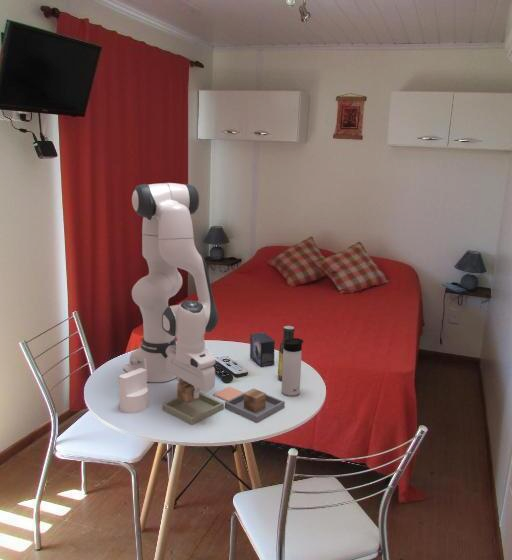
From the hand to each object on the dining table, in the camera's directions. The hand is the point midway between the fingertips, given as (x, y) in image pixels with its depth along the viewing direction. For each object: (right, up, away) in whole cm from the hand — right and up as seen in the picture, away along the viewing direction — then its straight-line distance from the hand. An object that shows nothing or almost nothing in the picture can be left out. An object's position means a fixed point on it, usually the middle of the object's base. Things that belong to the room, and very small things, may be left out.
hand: (188, 393), depth 166 cm
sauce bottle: (+33, -1, +27) cm, 43 cm away
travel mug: (+33, -4, +15) cm, 37 cm away
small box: (+24, +3, +43) cm, 49 cm away
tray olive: (+1, -6, +1) cm, 6 cm away
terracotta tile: (+12, -4, +12) cm, 18 cm away
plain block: (+21, -5, +4) cm, 22 cm away
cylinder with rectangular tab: (-18, -5, +3) cm, 19 cm away
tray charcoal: (+21, -6, +4) cm, 22 cm away
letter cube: (0, -2, 0) cm, 2 cm away
